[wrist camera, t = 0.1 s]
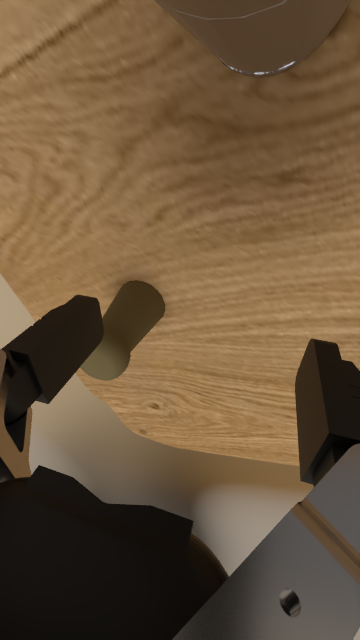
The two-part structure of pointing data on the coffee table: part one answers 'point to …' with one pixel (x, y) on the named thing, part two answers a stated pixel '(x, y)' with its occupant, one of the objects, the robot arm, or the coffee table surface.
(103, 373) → the olive game pawn
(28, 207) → the coffee table surface
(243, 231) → the coffee table surface
